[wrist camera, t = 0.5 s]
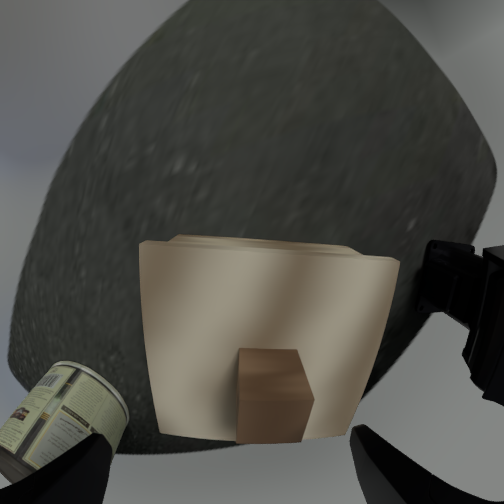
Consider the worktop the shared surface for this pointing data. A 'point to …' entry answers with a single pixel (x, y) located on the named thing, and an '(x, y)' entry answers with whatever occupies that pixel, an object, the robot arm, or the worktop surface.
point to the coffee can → (60, 419)
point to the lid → (260, 338)
